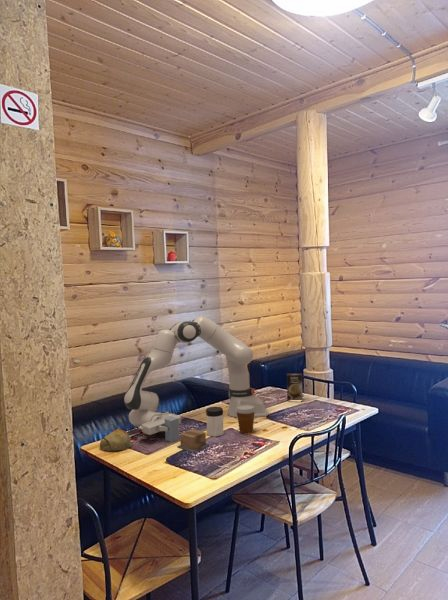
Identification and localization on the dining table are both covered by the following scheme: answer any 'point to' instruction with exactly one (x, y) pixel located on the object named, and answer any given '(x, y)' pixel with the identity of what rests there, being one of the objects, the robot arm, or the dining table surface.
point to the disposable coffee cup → (245, 418)
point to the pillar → (172, 429)
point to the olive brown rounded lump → (116, 441)
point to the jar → (214, 421)
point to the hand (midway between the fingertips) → (173, 427)
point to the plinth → (193, 440)
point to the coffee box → (294, 386)
